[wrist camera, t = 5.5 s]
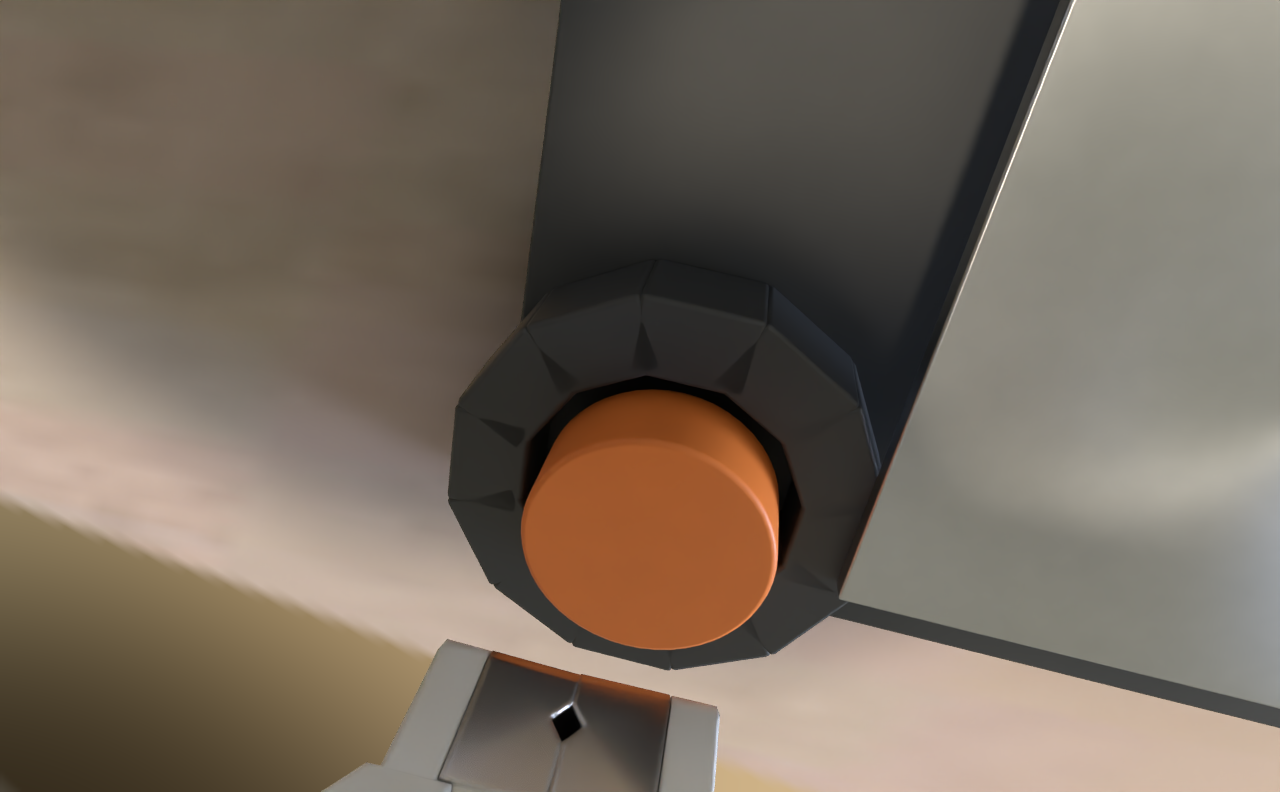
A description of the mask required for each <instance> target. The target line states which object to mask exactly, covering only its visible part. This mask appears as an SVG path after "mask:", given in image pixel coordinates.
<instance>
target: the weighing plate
mask: <svg viewBox="0 0 1280 792" xmlns="http://www.w3.org/2000/svg"><path fill="white" fill-rule="evenodd" d="M837 590H838V598H839V599H840V600H844V601H848V602H852V603H856V604H860V605H864V606H868V607H872V608H876V609H880V610H884V611H888V612H892V613H896V614H900V615H904V616H908V617H912V618H917V619H921V620H925V621H929V622H933V623H937V624H941V625H945V626H949V627H953V628H957V629H961V630H965V631H969V632H973V633H977V634H981V635H985V636H989V637H993V638H997V639H1001V640H1005V641H1009V642H1013V643H1017V644H1021V645H1025V646H1029V647H1033V648H1037V649H1041V650H1045V651H1050V652H1054V653H1058V654H1062V655H1066V656H1070V657H1074V658H1078V659H1082V660H1086V661H1090V662H1094V663H1098V664H1102V665H1106V666H1110V667H1114V668H1118V669H1122V670H1126V671H1130V672H1134V673H1138V674H1142V675H1146V676H1150V677H1154V678H1158V679H1162V680H1166V681H1170V682H1174V683H1178V684H1183V685H1187V686H1191V687H1195V688H1199V689H1203V690H1207V691H1211V692H1215V693H1219V694H1223V695H1227V696H1231V697H1235V698H1239V699H1243V700H1247V701H1251V702H1255V703H1259V704H1263V705H1267V706H1271V707H1275V708H1279V709H1280V0H1060V2H1059V5H1058V7H1057V10H1056V12H1055V15H1054V18H1053V20H1052V23H1051V25H1050V28H1049V31H1048V33H1047V36H1046V38H1045V41H1044V44H1043V46H1042V49H1041V51H1040V54H1039V57H1038V59H1037V62H1036V65H1035V67H1034V70H1033V72H1032V75H1031V78H1030V80H1029V83H1028V85H1027V88H1026V91H1025V93H1024V96H1023V98H1022V101H1021V104H1020V106H1019V109H1018V111H1017V114H1016V117H1015V119H1014V122H1013V125H1012V127H1011V130H1010V132H1009V135H1008V138H1007V140H1006V143H1005V145H1004V148H1003V151H1002V153H1001V156H1000V158H999V161H998V164H997V166H996V169H995V171H994V174H993V177H992V179H991V182H990V184H989V187H988V190H987V192H986V195H985V198H984V200H983V203H982V205H981V208H980V211H979V213H978V216H977V218H976V221H975V224H974V226H973V229H972V231H971V234H970V237H969V239H968V242H967V244H966V247H965V250H964V252H963V255H962V257H961V260H960V263H959V265H958V268H957V271H956V273H955V276H954V278H953V281H952V284H951V286H950V289H949V291H948V294H947V297H946V299H945V302H944V304H943V307H942V310H941V312H940V315H939V317H938V320H937V323H936V325H935V328H934V331H933V333H932V336H931V338H930V341H929V344H928V346H927V349H926V351H925V354H924V357H923V359H922V362H921V364H920V367H919V370H918V372H917V375H916V377H915V380H914V383H913V385H912V388H911V390H910V393H909V396H908V398H907V401H906V404H905V406H904V409H903V411H902V414H901V417H900V419H899V422H898V424H897V427H896V430H895V432H894V435H893V437H892V440H891V443H890V445H889V448H888V450H887V453H886V456H885V458H884V461H883V463H882V466H881V469H880V471H879V474H878V477H877V479H876V482H875V484H874V487H873V490H872V492H871V495H870V497H869V500H868V503H867V505H866V508H865V510H864V513H863V516H862V518H861V521H860V523H859V526H858V529H857V531H856V534H855V537H854V539H853V542H852V544H851V547H850V550H849V552H848V555H847V557H846V560H845V563H844V565H843V568H842V570H841V573H840V576H839V578H838V581H837Z"/></svg>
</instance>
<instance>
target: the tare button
mask: <svg viewBox="0 0 1280 792" xmlns="http://www.w3.org/2000/svg"><path fill="white" fill-rule="evenodd" d="M778 528H779V491H778V483H777V478H776V474H775V470H774V468H773V466H772V463H771V461H770V458H769V456H768V455H767V453H766V451H765V450H764V448H763V446H762V445H761V443H760V442H759V441H758V440H757V438H756V437H755V436H754V434H753V433H752V432H751V431H750V430H749V429H748V428H747V427H746V426H745V425H744V424H743V423H742V422H740V421H739V420H738V419H737V418H735V417H734V416H733V415H731V414H730V413H729V412H727V411H725V410H724V409H722V408H720V407H718V406H717V405H715V404H713V403H711V402H708V401H706V400H704V399H701V398H699V397H696V396H692V395H689V394H686V393H681V392H675V391H670V390H656V389H649V390H635V391H630V392H624V393H620V394H617V395H613V396H610V397H607V398H604V399H602V400H600V401H598V402H596V403H594V404H592V405H590V406H589V407H587V408H586V409H584V410H583V411H581V412H580V413H579V414H577V415H576V416H575V417H574V418H573V419H572V420H571V421H569V423H568V424H567V425H566V426H565V427H564V429H563V430H562V431H561V432H560V434H559V436H558V437H557V439H556V440H555V442H554V444H553V446H552V448H551V450H550V452H549V454H548V456H547V458H546V460H545V462H544V464H543V466H542V469H541V471H540V473H539V475H538V477H537V479H536V481H535V483H534V485H533V487H532V489H531V491H530V493H529V496H528V498H527V501H526V503H525V506H524V510H523V514H522V520H521V539H522V548H523V552H524V556H525V560H526V563H527V565H528V568H529V570H530V573H531V575H532V577H533V578H534V580H535V582H536V584H537V585H538V587H539V588H540V590H541V591H542V592H543V594H544V595H545V596H546V598H547V599H548V600H549V601H550V602H551V603H552V604H553V605H554V606H555V607H556V608H557V609H558V610H559V611H560V612H561V613H562V614H564V615H565V616H566V617H567V618H568V619H570V620H571V621H573V622H574V623H576V624H577V625H579V626H580V627H582V628H584V629H586V630H587V631H589V632H591V633H593V634H595V635H597V636H600V637H602V638H604V639H607V640H609V641H613V642H616V643H619V644H622V645H626V646H631V647H636V648H643V649H653V650H673V649H683V648H689V647H694V646H699V645H702V644H705V643H708V642H711V641H714V640H716V639H719V638H721V637H723V636H725V635H727V634H729V633H730V632H732V631H733V630H735V629H737V628H738V627H740V626H741V625H742V624H743V623H744V622H745V621H747V620H748V619H749V618H750V617H751V616H752V615H753V614H754V613H755V611H756V610H757V609H758V608H759V607H760V606H761V604H762V603H763V601H764V599H765V598H766V596H767V595H768V593H769V591H770V588H771V586H772V584H773V581H774V578H775V574H776V570H777V561H778Z"/></svg>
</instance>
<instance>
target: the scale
mask: <svg viewBox="0 0 1280 792" xmlns="http://www.w3.org/2000/svg"><path fill="white" fill-rule="evenodd" d="M1059 2H1060V0H561V5H560V13H559V21H558V29H557V37H556V44H555V52H554V60H553V68H552V76H551V84H550V92H549V100H548V108H547V116H546V124H545V132H544V140H543V148H542V156H541V164H540V172H539V180H538V188H537V196H536V204H535V212H534V220H533V228H532V236H531V244H530V252H529V260H528V268H527V276H526V284H525V292H524V300H523V308H522V316H521V323H520V324H519V325H518V327H517V328H516V329H515V330H514V331H513V332H512V333H511V335H510V336H509V337H508V338H507V339H506V340H505V342H504V343H503V344H502V345H501V346H500V347H499V348H498V350H497V351H496V352H495V353H494V354H493V355H492V357H491V358H490V359H489V360H488V361H487V363H486V364H485V365H484V367H483V368H482V369H481V371H480V372H479V373H478V375H477V376H476V377H475V379H474V380H473V381H472V383H471V384H470V385H469V387H468V388H467V389H466V391H465V392H464V393H463V394H462V396H461V397H460V398H459V402H458V405H457V406H456V408H455V419H454V430H453V441H452V452H451V463H450V475H449V486H448V496H449V499H448V502H449V505H450V507H451V509H452V511H453V513H454V515H455V516H456V518H457V520H458V522H459V524H460V526H461V528H462V530H463V532H464V534H465V536H466V538H467V540H468V542H469V544H470V546H471V548H472V550H473V552H474V554H475V555H476V557H477V559H478V561H479V563H480V565H481V567H482V569H483V571H484V573H485V575H486V577H487V579H488V581H489V583H490V584H494V586H495V588H496V589H498V590H499V591H500V592H502V593H503V594H504V595H506V596H507V597H508V598H510V599H511V600H512V601H514V602H515V603H516V604H518V605H519V606H520V607H522V608H523V609H524V610H526V611H527V612H528V613H530V614H531V615H532V616H534V617H535V618H536V619H538V620H539V621H540V622H542V623H543V624H544V625H546V626H547V627H548V628H550V629H551V630H552V631H554V632H555V633H556V634H558V635H559V636H560V637H562V638H563V639H564V640H566V641H567V642H569V643H572V644H573V646H575V647H578V648H582V649H586V650H590V651H594V652H598V653H602V654H606V655H609V656H613V657H617V658H621V659H625V660H629V661H633V662H637V663H641V664H645V665H649V666H653V667H656V668H660V669H664V670H670V669H671V668H672V669H674V670H678V669H685V668H692V667H699V666H706V665H712V664H719V663H726V662H733V661H739V660H746V659H753V658H760V657H766V656H768V655H770V654H775V653H777V652H778V651H780V650H781V649H782V648H784V647H785V646H787V645H788V644H790V643H791V642H792V641H794V640H795V639H797V638H798V637H800V636H801V635H802V634H804V633H805V632H807V631H808V630H810V629H811V628H812V627H814V626H815V625H817V624H818V623H820V622H821V621H822V620H824V619H825V618H827V617H828V616H833V617H837V618H841V619H845V620H849V621H853V622H857V623H861V624H865V625H869V626H873V627H877V628H881V629H885V630H889V631H893V632H897V633H901V634H905V635H909V636H913V637H917V638H921V639H925V640H929V641H933V642H937V643H941V644H945V645H949V646H953V647H957V648H961V649H965V650H969V651H973V652H977V653H981V654H985V655H989V656H993V657H997V658H1001V659H1005V660H1009V661H1013V662H1017V663H1021V664H1025V665H1029V666H1033V667H1037V668H1041V669H1045V670H1049V671H1053V672H1057V673H1061V674H1065V675H1069V676H1073V677H1077V678H1081V679H1085V680H1089V681H1094V682H1098V683H1102V684H1106V685H1110V686H1114V687H1118V688H1122V689H1126V690H1130V691H1134V692H1138V693H1142V694H1146V695H1150V696H1154V697H1158V698H1162V699H1166V700H1170V701H1174V702H1178V703H1182V704H1186V705H1190V706H1194V707H1198V708H1202V709H1206V710H1210V711H1214V712H1218V713H1222V714H1226V715H1230V716H1234V717H1238V718H1242V719H1246V720H1250V721H1254V722H1258V723H1262V724H1266V725H1270V726H1274V727H1278V728H1280V709H1279V708H1275V707H1271V706H1267V705H1263V704H1259V703H1255V702H1251V701H1247V700H1243V699H1239V698H1235V697H1231V696H1227V695H1223V694H1219V693H1215V692H1211V691H1207V690H1203V689H1199V688H1195V687H1191V686H1187V685H1183V684H1178V683H1174V682H1170V681H1166V680H1162V679H1158V678H1154V677H1150V676H1146V675H1142V674H1138V673H1134V672H1130V671H1126V670H1122V669H1118V668H1114V667H1110V666H1106V665H1102V664H1098V663H1094V662H1090V661H1086V660H1082V659H1078V658H1074V657H1070V656H1066V655H1062V654H1058V653H1054V652H1050V651H1045V650H1041V649H1037V648H1033V647H1029V646H1025V645H1021V644H1017V643H1013V642H1009V641H1005V640H1001V639H997V638H993V637H989V636H985V635H981V634H977V633H973V632H969V631H965V630H961V629H957V628H953V627H949V626H945V625H941V624H937V623H933V622H929V621H925V620H921V619H917V618H912V617H908V616H904V615H900V614H896V613H892V612H888V611H884V610H880V609H876V608H872V607H868V606H864V605H860V604H856V603H852V602H848V601H844V600H840V599H839V598H838V590H837V581H838V578H839V576H840V573H841V570H842V568H843V565H844V563H845V560H846V557H847V555H848V552H849V550H850V547H851V544H852V542H853V539H854V537H855V534H856V531H857V529H858V526H859V523H860V521H861V518H862V516H863V513H864V510H865V508H866V505H867V503H868V500H869V497H870V495H871V492H872V490H873V487H874V484H875V482H876V479H877V477H878V474H879V471H880V469H881V466H882V463H883V461H884V458H885V456H886V453H887V450H888V448H889V445H890V443H891V440H892V437H893V435H894V432H895V430H896V427H897V424H898V422H899V419H900V417H901V414H902V411H903V409H904V406H905V404H906V401H907V398H908V396H909V393H910V390H911V388H912V385H913V383H914V380H915V377H916V375H917V372H918V370H919V367H920V364H921V362H922V359H923V357H924V354H925V351H926V349H927V346H928V344H929V341H930V338H931V336H932V333H933V331H934V328H935V325H936V323H937V320H938V317H939V315H940V312H941V310H942V307H943V304H944V302H945V299H946V297H947V294H948V291H949V289H950V286H951V284H952V281H953V278H954V276H955V273H956V271H957V268H958V265H959V263H960V260H961V257H962V255H963V252H964V250H965V247H966V244H967V242H968V239H969V237H970V234H971V231H972V229H973V226H974V224H975V221H976V218H977V216H978V213H979V211H980V208H981V205H982V203H983V200H984V198H985V195H986V192H987V190H988V187H989V184H990V182H991V179H992V177H993V174H994V171H995V169H996V166H997V164H998V161H999V158H1000V156H1001V153H1002V151H1003V148H1004V145H1005V143H1006V140H1007V138H1008V135H1009V132H1010V130H1011V127H1012V125H1013V122H1014V119H1015V117H1016V114H1017V111H1018V109H1019V106H1020V104H1021V101H1022V98H1023V96H1024V93H1025V91H1026V88H1027V85H1028V83H1029V80H1030V78H1031V75H1032V72H1033V70H1034V67H1035V65H1036V62H1037V59H1038V57H1039V54H1040V51H1041V49H1042V46H1043V44H1044V41H1045V38H1046V36H1047V33H1048V31H1049V28H1050V25H1051V23H1052V20H1053V18H1054V15H1055V12H1056V10H1057V7H1058V5H1059ZM649 389H656V390H670V391H675V392H681V393H686V394H689V395H692V396H696V397H699V398H701V399H704V400H706V401H708V402H711V403H713V404H715V405H717V406H718V407H720V408H722V409H724V410H725V411H727V412H729V413H730V414H731V415H733V416H734V417H735V418H737V419H738V420H739V421H740V422H742V423H743V424H744V425H745V426H746V427H747V428H748V429H749V430H750V431H751V432H752V433H753V434H754V436H755V437H756V438H757V440H758V441H759V442H760V443H761V445H762V446H763V448H764V450H765V451H766V453H767V455H768V456H769V458H770V461H771V463H772V466H773V468H774V470H775V474H776V478H777V483H778V491H779V528H778V561H777V570H776V574H775V578H774V581H773V584H772V586H771V588H770V591H769V593H768V595H767V596H766V598H765V599H764V601H763V603H762V604H761V606H760V607H759V608H758V609H757V610H756V611H755V613H754V614H753V615H752V616H751V617H750V618H749V619H748V620H747V621H745V622H744V623H743V624H742V625H741V626H740V627H738V628H737V629H735V630H733V631H732V632H730V633H729V634H727V635H725V636H723V637H721V638H719V639H716V640H714V641H711V642H708V643H705V644H702V645H699V646H694V647H689V648H683V649H673V650H653V649H643V648H636V647H631V646H626V645H622V644H619V643H616V642H613V641H609V640H607V639H604V638H602V637H600V636H597V635H595V634H593V633H591V632H589V631H587V630H586V629H584V628H582V627H580V626H579V625H577V624H576V623H574V622H573V621H571V620H570V619H568V618H567V617H566V616H565V615H564V614H562V613H561V612H560V611H559V610H558V609H557V608H556V607H555V606H554V605H553V604H552V603H551V602H550V601H549V600H548V599H547V598H546V596H545V595H544V594H543V592H542V591H541V590H540V588H539V587H538V585H537V584H536V582H535V580H534V578H533V577H532V575H531V573H530V570H529V568H528V565H527V563H526V560H525V556H524V552H523V548H522V539H521V520H522V514H523V510H524V506H525V503H526V501H527V498H528V496H529V493H530V491H531V489H532V487H533V485H534V483H535V481H536V479H537V477H538V475H539V473H540V471H541V469H542V466H543V464H544V462H545V460H546V458H547V456H548V454H549V452H550V450H551V448H552V446H553V444H554V442H555V440H556V439H557V437H558V436H559V434H560V432H561V431H562V430H563V429H564V427H565V426H566V425H567V424H568V423H569V421H571V420H572V419H573V418H574V417H575V416H576V415H577V414H579V413H580V412H581V411H583V410H584V409H586V408H587V407H589V406H590V405H592V404H594V403H596V402H598V401H600V400H602V399H604V398H607V397H610V396H613V395H617V394H620V393H624V392H630V391H635V390H649Z"/></svg>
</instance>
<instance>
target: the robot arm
mask: <svg viewBox="0 0 1280 792" xmlns="http://www.w3.org/2000/svg"><path fill="white" fill-rule="evenodd" d="M719 718H720V715H719V712H718V709H717V707H716V706H712V705H708V704H704V703H700V702H695V701H691V700H687V699H683V698H679V697H675V696H672V697H671V698H670V695H668V694H664V693H660V692H655V691H651V690H647V689H643V688H638V687H634V686H630V685H626V684H621V683H617V682H613V681H609V680H605V679H600V678H596V677H592V676H588V675H583V674H581V675H579V674H575V673H571V672H568V671H564V670H560V669H557V668H553V667H550V666H546V665H542V664H539V663H535V662H532V661H528V660H524V659H521V658H517V657H513V656H510V655H506V654H503V653H499V652H495V651H489V650H485V649H482V648H478V647H474V646H471V645H467V644H463V643H460V642H456V641H452V640H449V639H447V640H446V641H445V642H444V643H443V644H442V646H441V647H440V648H439V649H438V650H437V652H436V654H435V656H434V658H433V661H432V663H431V665H430V667H429V669H428V671H427V673H426V675H425V677H424V679H423V681H422V683H421V685H420V687H419V689H418V691H417V693H416V695H415V697H414V699H413V701H412V703H411V705H410V707H409V709H408V711H407V713H406V715H405V717H404V719H403V721H402V723H401V725H400V727H399V730H398V731H397V734H396V735H395V737H394V740H393V742H392V744H391V746H390V748H389V750H388V752H387V754H386V756H385V758H384V760H383V762H382V764H381V766H380V765H375V764H371V763H365V764H363V765H362V766H360V767H359V768H357V769H356V770H354V771H352V772H351V773H349V774H348V775H346V776H345V777H343V778H342V779H340V780H339V781H337V782H336V783H334V784H333V785H331V786H329V787H328V788H326V789H325V790H323V791H322V792H714V786H715V773H716V759H717V746H718V732H719Z"/></svg>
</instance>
